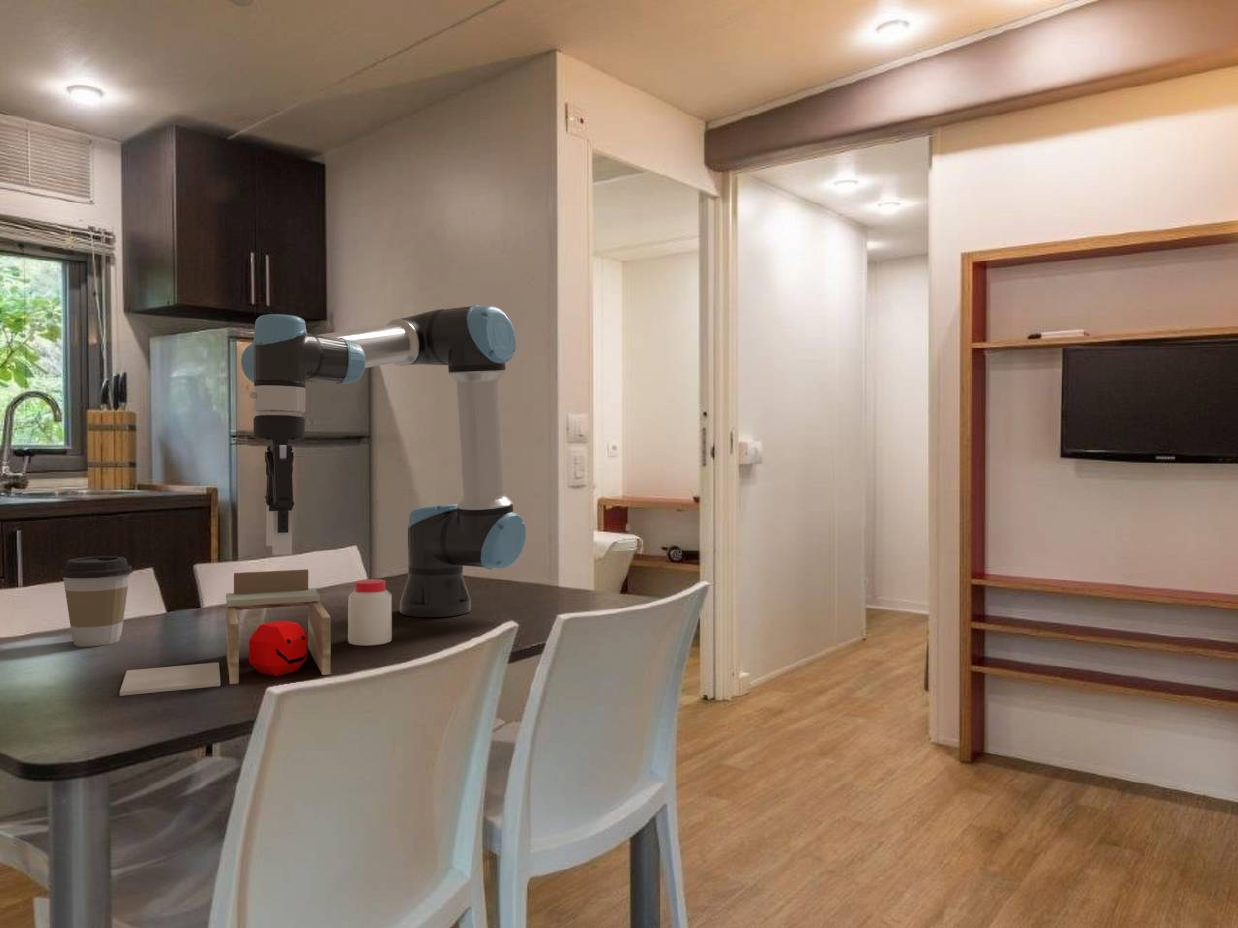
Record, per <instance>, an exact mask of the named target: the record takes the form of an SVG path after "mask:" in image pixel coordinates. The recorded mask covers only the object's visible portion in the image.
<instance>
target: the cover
mask: <svg viewBox="0 0 1238 928" xmlns="http://www.w3.org/2000/svg"><path fill="white" fill-rule="evenodd" d="M225 600H226V603H227V607H233V606H249V605H265V604H280V603H296V602H312V601H319V602H320V601H321V595H320V594H319V592H318V591H317V589H315V588H314V587H313V588H311V587H310V588H309V569H308V568H307V569H290V570H289V569H288V570H287V569H286V570H285V569H284V570H269V571H268V570H267V571H249V572H248V571H246V572H244V571H243V572H233V592H227V593H225Z"/></svg>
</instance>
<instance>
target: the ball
mask: <svg viewBox="0 0 1238 928" xmlns="http://www.w3.org/2000/svg"><path fill="white" fill-rule="evenodd" d="M259 624H260V623H259ZM307 657H308V632H307V631H305V629H304V628H303V627H301V625H299V623H298V622H293V621H286V620H277V621H271V622H266V623H262V624H260V625H259V626H258V627H257V628H256V630H255V631H253V634H252V635H251V637H250V638H249V640H248V663H249V664H250V665H251V666H252V667H254V668H255V669H256V670H257V671H258V673H260V674H263V675H264V674H265V675H268V676H269V675H270V676H275V677H279V676H282V675H286V674H290V673H295V672H298V671H299V669H300V668H301V667H302V665H303V664H304V663H305V662H306V660H307Z"/></svg>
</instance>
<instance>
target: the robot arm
mask: <svg viewBox="0 0 1238 928" xmlns="http://www.w3.org/2000/svg"><path fill="white" fill-rule="evenodd" d="M254 323H255V324H254V329H253V330H254V332H253V341H252V342H251V343H250V344H249V345H247V346H246V347H245V348H244V350H243V351H242V354H241V357H240V358H241V359H240V363H241V370H242V371H243V374H244V375H245V377H246V378H247V379H248V380H249V381H251V382H252V383H253V385H254V388H253V390H254V392H252V391H251V392H250V393H249V398H250V399H252V400H253V399H254V401H253V410H254V412H255V413H257V415H254V417H253V438H254V439H255V440H263V441H264V440H265V441H267V440H270V445H267V447H266V451H264V463H265V474H266V491H265V496H264V497H265V498H264V499H265V504H266V512H265V513H266V514H265V515H266V518H265V519H266V521H265V522H266V523H265V526H266V527H265V528H266V529H265V533H266V535H265V546H266V547H271V549H272V551H271V552H272V555H271V556H281V555H282V556H284V555H285V556H286V555H288V556H289V555H290V556H291V555H293V509H294V506H295V501H294V494H293V493H294V487H293V486H294V485H293V474H294V473H293V472H294V467H293V466H294V464H293V463H294V459H295V456H294V451H293V447H292V445H290V444H289V441H302V440H304V439H305V436H306V435H305V432H306V430H305V429H306V425H305V423H306V420H305V418H304V416H302V414H304V413H305V412H306V384H313V383H335V384H337V385H340V384H352V383H353V384H354V383H355V382H357V381H359V380H360V379H361V377H362V376H363V374H364V372H365V369H367V368H373V367H378V366H385V365H390V364H394V365H397V366H400V367H408V366H413V365H424V366H425V365H429V366H448V369H447V370H448V375H449V376H450V377H451V378H452V379H453V380H455V383H456V389H457V390H456V393H457V407H458V409H457V412H458V425H459V440H460V441H459V442H460V443H459V444H460V445H459V446H460V458H461V459H460V460H461V461H460V462H461V475H462V492H463V494H462V495H463V496H462V497H463V498H462V499H461V500H460V501H459V502H458V503H453V504H441V505H431V506H430V505H429V506H422V507H417V508H416V507H415V508H413V509H412V510H411V511H410V513H409V515H408V526H407V545H408V546H407V554H408V555H407V557H408V559H407V561H408V563H407V564H408V571H407V572H408V573H407V574H408V576H407V580H406V582H405V586H404V590H403V592H402V594H401V599H400V601H399V613H400V614H401V615H404V616H409V617H413V618H414V617H417V618H445V617H455V616H460V615H465V614H467V613H470V612H471V610H472V609H471V608H472V604H471V603H472V601H471V597H470V594H469V590H468V587H467V584H466V582H465V579H464V567H472V568H473V567H474V568H483V569H486V570H493V569H506V568H508V567H509V568H510V567H511V566H513V564H515V563H516V561H517V560H518V559H519V557H520V555H521V553H522V552H523V549H524V547H525V543H526V538H527V537H526V536H527V528H526V523H525V521H524V520H523V517H522V516H521V515H519V514H518V513H516V512H514V503H513V501H512V500H511V499H510V497H508V496H507V495H506V489H505V485H506V484H505V473H504V471H505V470H504V469H505V468H504V450H503V434H502V433H503V431H502V416H501V415H502V414H501V398H500V397H501V396H500V395H501V394H500V379H501V378H502V377H503V376H504V374H506V372H507V371H506V363H507V362H509V361H511V360H512V359H513V357H514V354H515V352H516V348H517V338H516V332H515V329H514V326H513V324H512V322H511V319H510V318H509V317H507V314H506V313H505V312H504V311H503V310H502V309H500V308H498V307H496V306H493V305H479V304H478V305H472V306H463V307H461V306H460V307H455V308H454V307H452V308H445V309H444V308H440V309H434V310H429V311H426V312H422V313H418V314H416V315H415V314H414V315H411V316H408V317H401V318H396V319H392V320H390V321H389V322H387V324H386V325H382V326H380V325H379V326H373V327H366V328H365V327H364V328H360V329H351V330H343V331H335V332H328V333H320V334H313V333H309V332H307V331H308V330H307V329H306V328H307V327H306V321H305V319H303V318H302V317H299V316H297V315H291V314H278V313H275V314H274V313H272V314H263V315H260V316H259V317H257V319H256V320H255V322H254Z"/></svg>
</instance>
